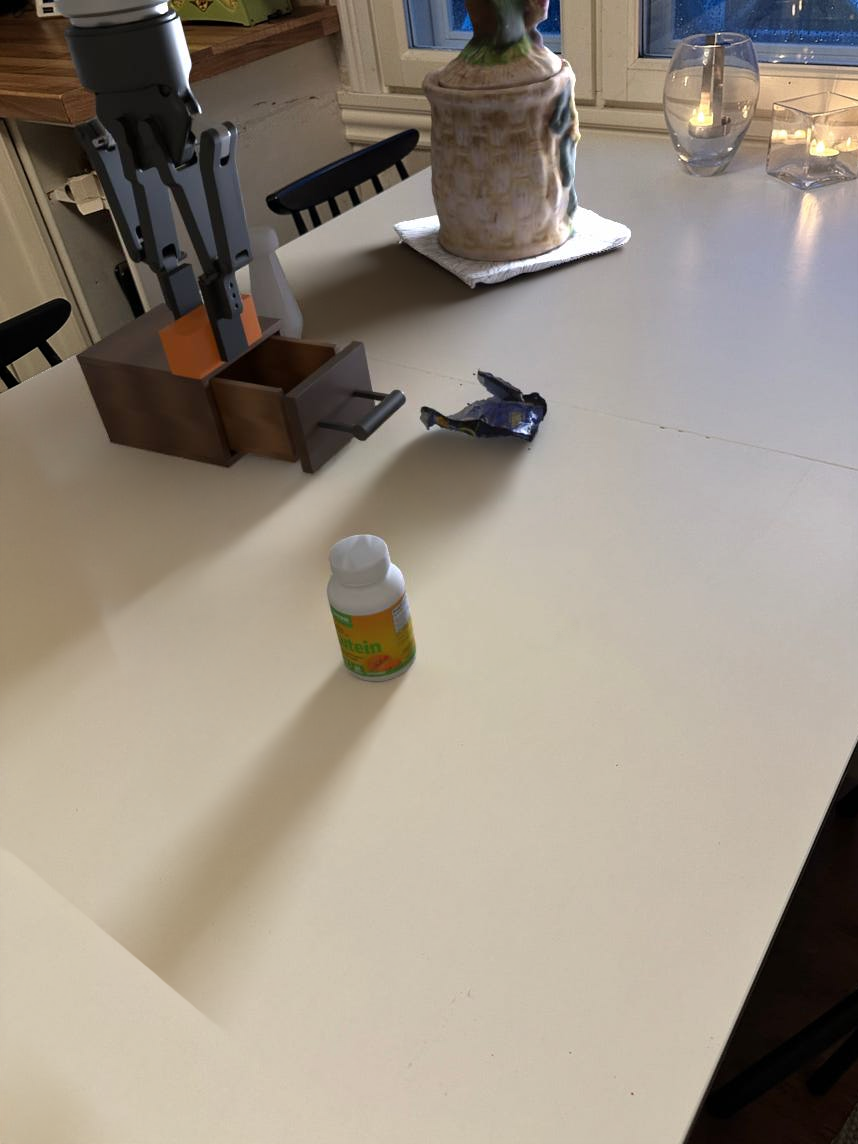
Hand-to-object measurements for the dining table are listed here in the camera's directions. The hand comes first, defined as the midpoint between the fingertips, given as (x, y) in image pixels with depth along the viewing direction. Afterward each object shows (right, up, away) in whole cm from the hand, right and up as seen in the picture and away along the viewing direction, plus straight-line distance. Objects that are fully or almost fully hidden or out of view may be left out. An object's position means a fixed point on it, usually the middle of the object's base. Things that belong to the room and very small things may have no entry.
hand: (217, 350), depth 78 cm
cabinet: (-7, -1, +21) cm, 22 cm away
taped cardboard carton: (0, 0, 0) cm, 0 cm away
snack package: (+22, -3, +15) cm, 27 cm away
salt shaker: (-2, +12, +35) cm, 37 cm away
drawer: (+5, -4, +16) cm, 17 cm away
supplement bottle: (+14, -25, -8) cm, 30 cm away
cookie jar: (+25, +30, +52) cm, 66 cm away
